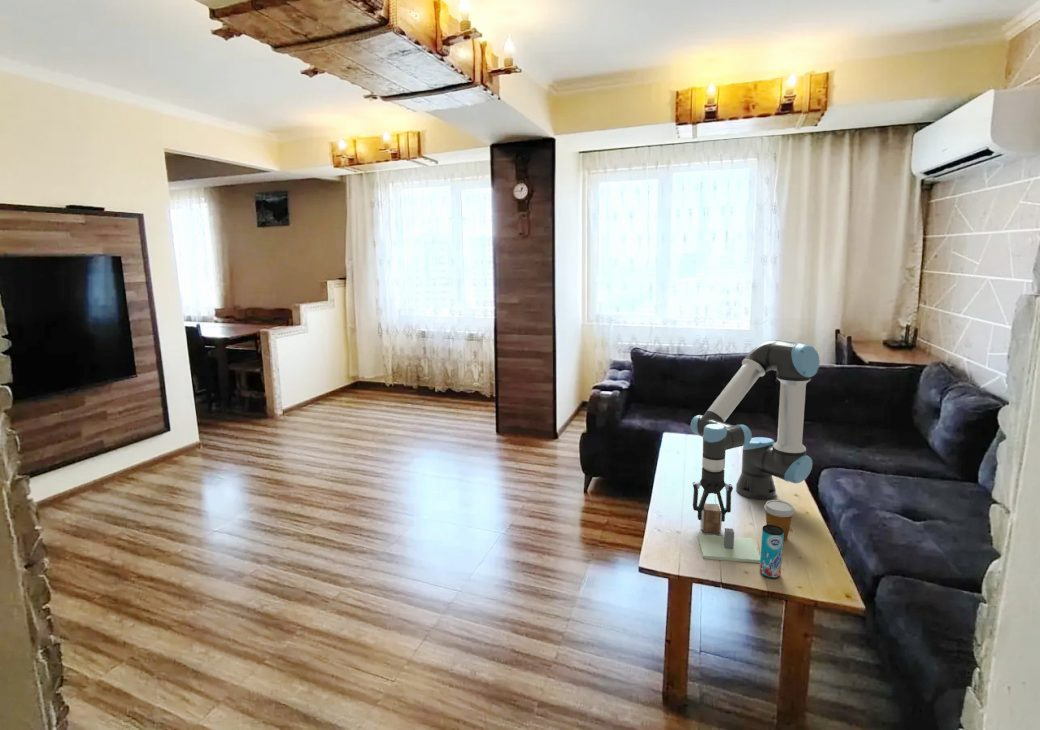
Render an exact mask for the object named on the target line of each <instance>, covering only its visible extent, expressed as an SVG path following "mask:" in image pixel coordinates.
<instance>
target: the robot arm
mask: <svg viewBox="0 0 1040 730" xmlns="http://www.w3.org/2000/svg"><path fill="white" fill-rule="evenodd" d="M820 361H821V360H820V355H819V353H818V350H816V348H815V347H814V346H812V345H810V344H805V343H802V342H796V341H795V342H794V341H793V342H792V341H786V340H785V341H783V340H778V339H774V340H773V339H772V340H767V341H765V342H763V343H761V344H759V345H758V346H756V347H754V348H753V349H752V350H751V351H750V352H749V353H748V354H747V355H746V356H745V357H744V358H743V360H741V367H740V368H739V369H738V371H737V372H736V373H735V374H734V375H733V377H731V380H730V381H729V382H728V383H727V384H726V386H725V387H724V388H723V389H722V391H721V392H720V394H719V395H718V396H716V399H715V400H714V401H713V402H712V404H711V405H710V406H709V407H708V409H707V410H706V411H705V413H704V414H703V415H701V414H698V415H695V416H694V417H692V419H691V422H690V429H691V431H692V433H694V434H695V435H698V436H700V437H701V438H702V461H701V462H702V463H701V466H702V467H701V479H700V481H699V482H695V481H693V482H692V487H693V494H692V495H693V496H692V510H693V511H697V520H698V521H700V525H699V527H700V530H701V531H703V525H704V512H703V507H704V505H705V503H706V501H707V499H708V496H709V495H710V494H715V495H716V496H717V501H718V505H719V508H720V511H721V515H720V532H722V525H723V523H724V522H725V520H726V514H728V513H731V511H732V491H733V489H734V487H733V485H732V483H726V482H725V472H726V471H725V466H726V451H728V450H731V449H736V448H740V447H741V448H742V457H741V458H742V459H741V472H740V475H739V477H738V480H737V482H736V486H735V489H736V492H737V493H738V494H740V495H741V496H743V497H745V498H748V499H752V500H753V499H754V500H770V499H771V500H772V499H773V498H775V497H776V493H777V492H776V491H777V489H776V485H775V482H774V478H773V477H775V478H778V479H781V480H783V481H786V482H789V483H792V484H800V483H802V482H804V481H805V480H806V479H807V478H808V477H809V475H810V473H811V471H812V469H813V459H812V457H810V456H809V455H807V448H806V446H805V445H804V444H803V437H804V436H803V433H804V420H805V405H806V391H807V390H806V387H807V384H808V383H809V382H810V381H811V380H812V377H813V376H815V375H816V374H817V373H818V370H819V369H820ZM769 371H776V379H777V380H778V381H779V383H780V389H779V406H778V422H777V423H778V424H777V441H776V442H775V440H774V438H770V437H763V436H761V437H760V436H757V437H752V431H751V429H750V428H749V426H747V425H745V424H736V425H733V424H730V423H727V422H726V421H727V419H728V418H729V417H730V415H731V414H732V413H733V412H734V410H735V409H736V407H738V405H739V404H740V403H741V401H742V400H743V399H744V398H745V396H746V394H747V393H749V391H750V389H751V388H752V387H753V386H754V384H755V383H756V382H757V380H758V379H759V378H760V377H764V376H765V375H766V373H768V372H769ZM700 487H702V489H703V492H702V495H701V497H700V501H699V500H698V499H699V489H700ZM724 488H725V492H726V493H725V496H726V497H725V506H724V502H723V497H722V494H721V491H722V490H723V489H724ZM698 501H699V504H698ZM722 522H723V523H722Z"/></svg>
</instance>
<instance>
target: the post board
mask: <svg viewBox="0 0 1040 730" xmlns="http://www.w3.org/2000/svg"><path fill="white" fill-rule="evenodd" d="M697 538H698V539H697V540H698V543H699V547H700V551H701V554H702V558H703V559H707V560H720V561H731V562H741V563H742V562H744V563H754V564H755V563H756V564H760V558H761V553H759V550H758V548H757V545H756V543H755V541H754V538H752V537H739V536H735V531H734V529H733V528H729V527H725V528H724V535H713V534H712V535H708V534H697Z"/></svg>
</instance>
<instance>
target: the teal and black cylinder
mask: <svg viewBox="0 0 1040 730" xmlns="http://www.w3.org/2000/svg"><path fill="white" fill-rule="evenodd" d="M783 536H784V530H783V529H782V528H780V527H778V526H775V525H767V524H765V525H763V526H762V530H761V546H760V557H761V558H760V563H759V572H760V574H761V576H763V577H765V578H767V579H775V580H776V579H778V578H780V576H781V573H782V563H783V549H784V542H783Z"/></svg>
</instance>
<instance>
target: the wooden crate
mask: <svg viewBox="0 0 1040 730" xmlns="http://www.w3.org/2000/svg"><path fill="white" fill-rule="evenodd" d="M703 512H704V525H703V530H702V531H703V533H706V534H707V533H708V534H710V533H711V534H720V532H721V531H720V515H721V509H720V505H719V503H706V502H705V505H704V507H703Z"/></svg>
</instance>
